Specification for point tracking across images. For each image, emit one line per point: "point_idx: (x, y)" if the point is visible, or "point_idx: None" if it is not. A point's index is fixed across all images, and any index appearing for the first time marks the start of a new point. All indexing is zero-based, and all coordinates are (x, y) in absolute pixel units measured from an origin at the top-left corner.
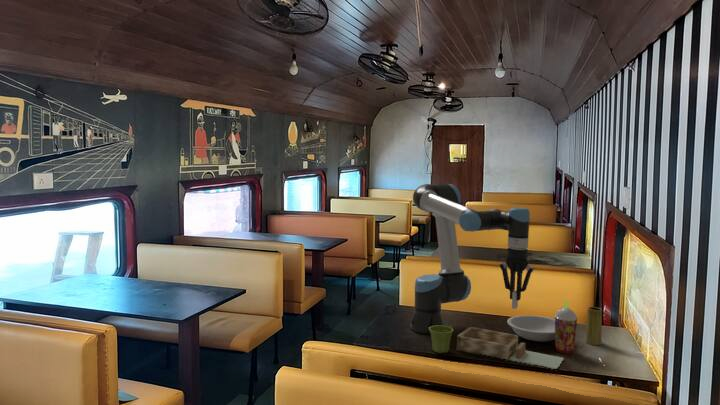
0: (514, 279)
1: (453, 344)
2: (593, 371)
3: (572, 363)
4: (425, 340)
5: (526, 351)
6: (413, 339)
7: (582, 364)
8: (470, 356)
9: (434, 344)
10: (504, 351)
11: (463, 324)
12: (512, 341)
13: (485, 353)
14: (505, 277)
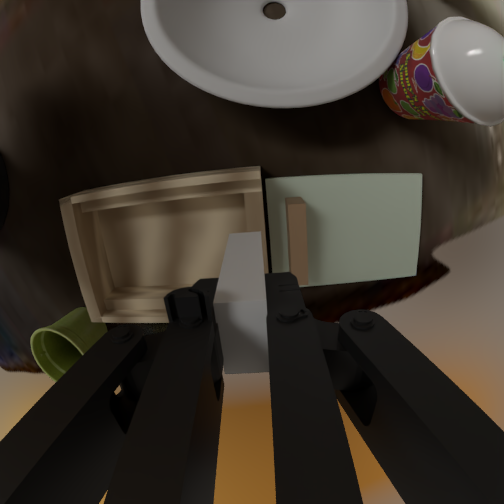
0: (200, 469)
1: None
2: (485, 222)
3: (443, 192)
4: (25, 279)
5: (301, 186)
6: (10, 289)
7: (463, 184)
8: None
9: (80, 355)
10: None
11: (19, 70)
12: (250, 210)
13: None
14: (87, 497)
